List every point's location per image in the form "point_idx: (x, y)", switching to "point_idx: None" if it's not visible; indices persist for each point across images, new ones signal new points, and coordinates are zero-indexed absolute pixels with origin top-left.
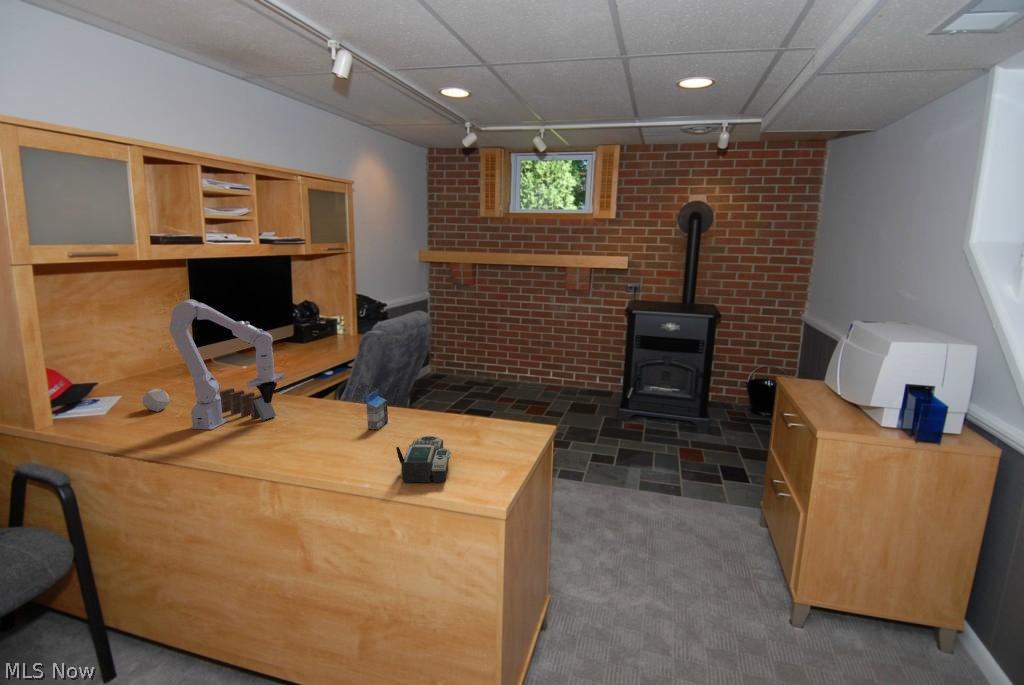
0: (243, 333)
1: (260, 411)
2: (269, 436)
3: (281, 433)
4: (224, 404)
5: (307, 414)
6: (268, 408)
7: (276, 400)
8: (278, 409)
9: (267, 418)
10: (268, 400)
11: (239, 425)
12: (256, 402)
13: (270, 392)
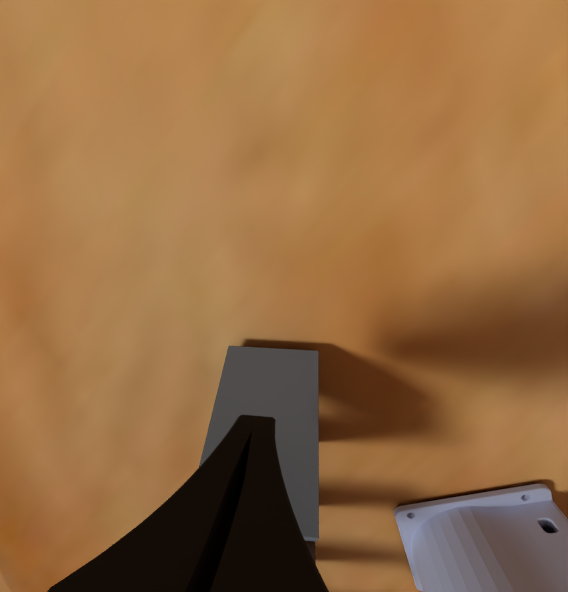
0: None
1: (317, 414)
2: (561, 72)
3: (473, 37)
4: None
5: (80, 209)
6: (250, 408)
7: (51, 525)
8: (130, 429)
9: (297, 350)
10: (271, 433)
11: (427, 418)
12: (318, 503)
13: (223, 507)
